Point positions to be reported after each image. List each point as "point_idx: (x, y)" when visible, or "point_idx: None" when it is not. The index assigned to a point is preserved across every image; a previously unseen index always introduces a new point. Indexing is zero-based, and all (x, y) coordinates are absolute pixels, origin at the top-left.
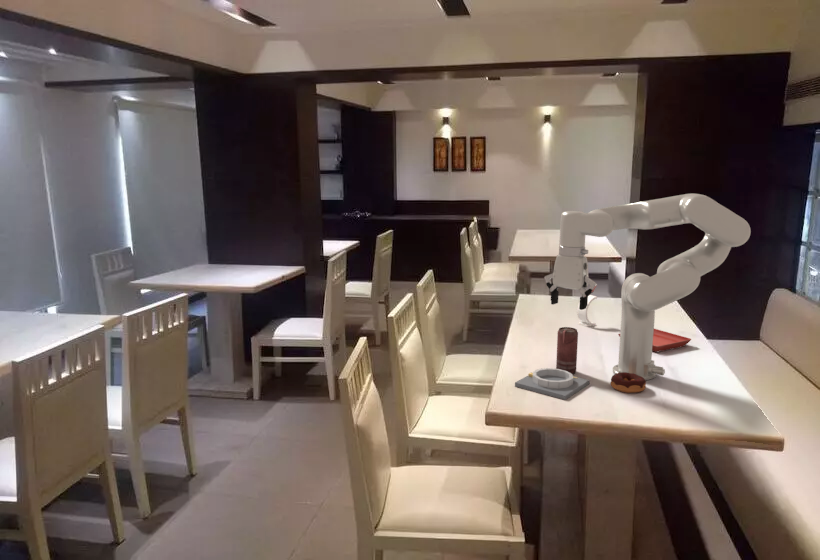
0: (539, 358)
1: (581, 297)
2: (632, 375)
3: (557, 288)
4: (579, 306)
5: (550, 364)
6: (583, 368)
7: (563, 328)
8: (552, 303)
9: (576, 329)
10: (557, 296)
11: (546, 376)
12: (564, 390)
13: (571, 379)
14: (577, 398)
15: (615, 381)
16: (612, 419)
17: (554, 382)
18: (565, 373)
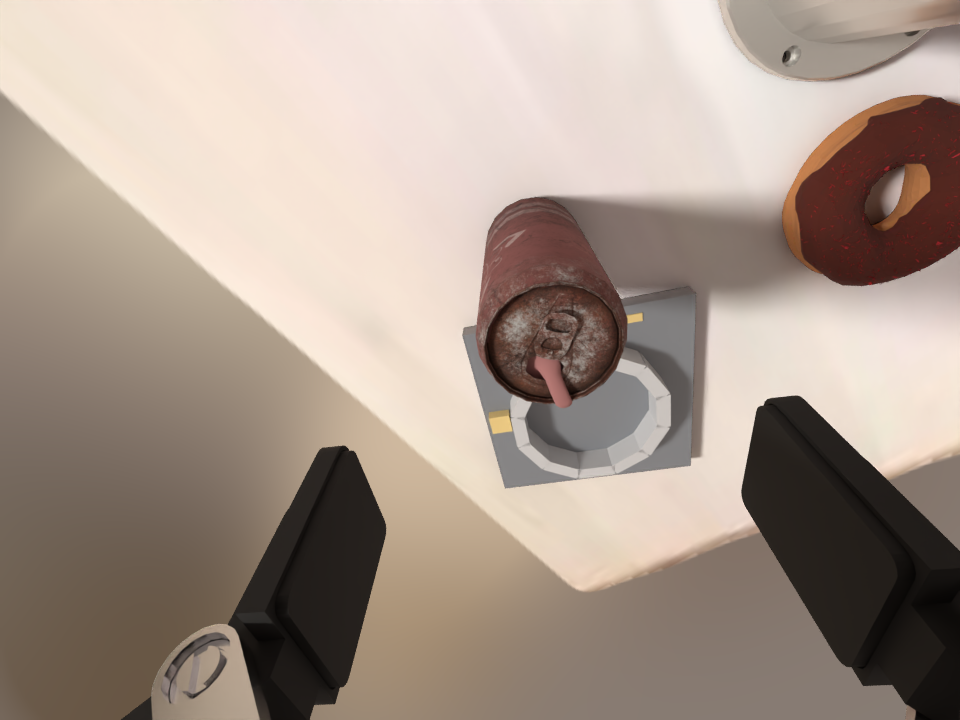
0: (312, 183)
1: (881, 678)
2: (923, 152)
3: (265, 703)
4: (757, 525)
5: (414, 215)
6: (562, 122)
7: (494, 327)
8: (379, 541)
9: (602, 298)
10: (329, 543)
11: None
12: (666, 438)
13: (669, 404)
14: (713, 423)
15: (840, 280)
16: None
17: (634, 461)
18: None
